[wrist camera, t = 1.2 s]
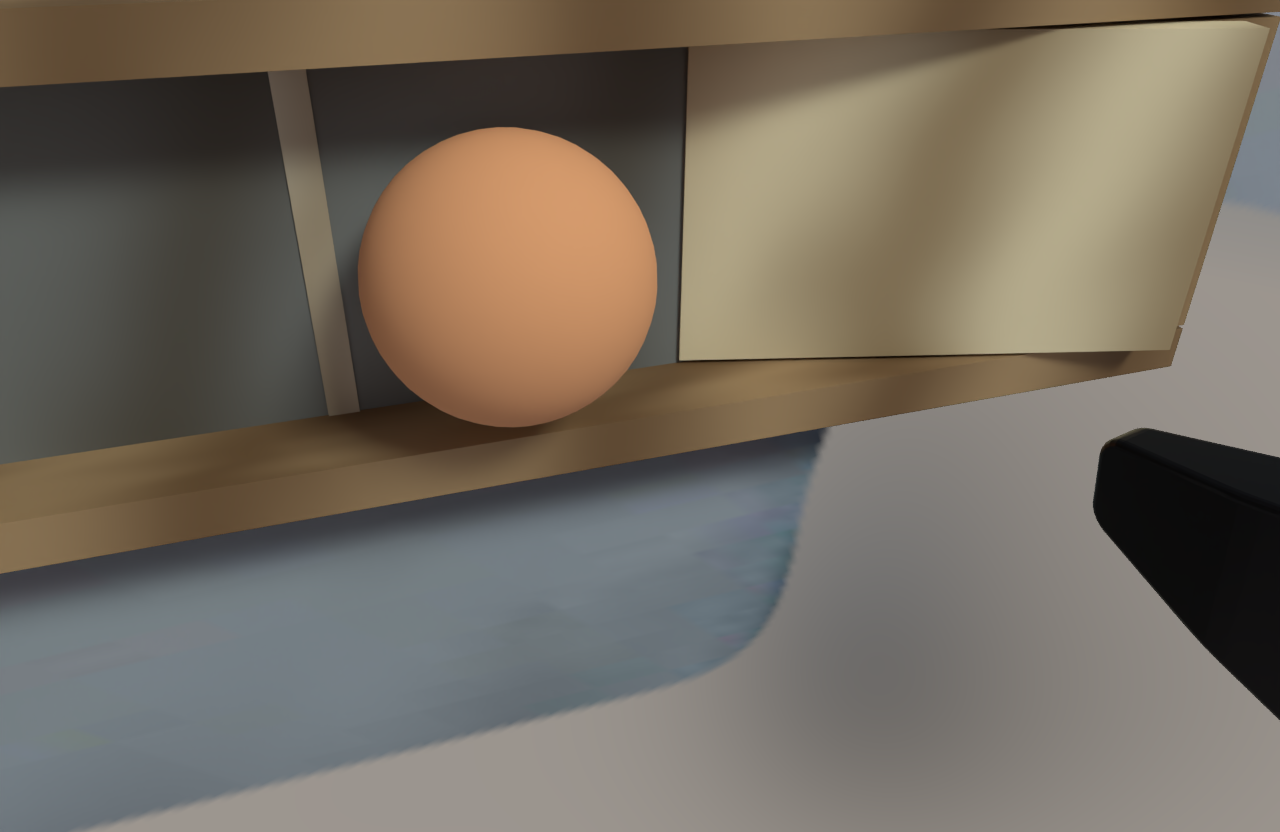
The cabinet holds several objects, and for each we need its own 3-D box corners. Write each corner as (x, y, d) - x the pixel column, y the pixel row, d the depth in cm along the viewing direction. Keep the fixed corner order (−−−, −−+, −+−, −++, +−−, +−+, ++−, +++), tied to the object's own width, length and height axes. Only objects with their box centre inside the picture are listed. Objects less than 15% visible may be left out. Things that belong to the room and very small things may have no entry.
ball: (549, 47, 18) (638, 117, 14) (642, 280, 21) (738, 394, 17) (292, 170, 17) (304, 279, 13) (423, 389, 20) (467, 533, 16)
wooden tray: (1194, -58, 22) (1395, -31, 18) (1094, 320, 26) (1237, 406, 22) (-321, -7, 14) (-528, 58, 10) (-89, 506, 19) (-174, 681, 15)
